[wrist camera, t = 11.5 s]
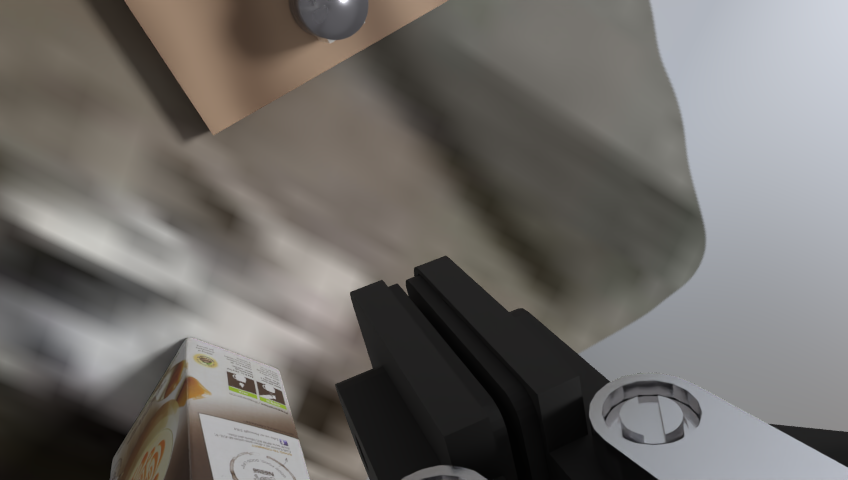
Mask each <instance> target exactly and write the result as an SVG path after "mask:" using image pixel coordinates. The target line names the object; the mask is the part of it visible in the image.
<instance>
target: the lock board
mask: <svg viewBox="0 0 848 480" xmlns="http://www.w3.org/2000/svg"><path fill="white" fill-rule="evenodd" d="M124 1H125V2H126V4H127V5H128V7H129V8H130V10H131V11H132V13H133V14H134V16H135V17H136V19H137V21H138V22H139V24H140V25H141V27H142V28H143V30H144V31H145V33H146V34H147V36H148V37H149V39H150V40H151V42H152V43H153V45H154V46H155V48H156V49H157V51H158V52H159V54H160V55H161V57H162V58H163V60H164V61H165V63H166V64H167V66H168V67H169V69H170V70H171V72H172V73H173V75H174V77H175V78H176V80H177V81H178V83H179V84H180V86H181V87H182V89H183V90H184V92H185V93H186V95H187V96H188V98H189V99H190V101H191V102H192V104H193V105H194V107H195V108H196V110H197V111H198V113H199V114H200V116H201V117H202V119H203V120H204V122H205V123H206V125H207V126H208V128H209V129H210V131H211V133H212V134H213V135H215V134H217V133H218V132H220V131H222V130H223V129H225V128H227V127H229V126H230V125H232V124H234V123H236V122H237V121H239V120H241V119H243V118H244V117H246V116H248V115H250V114H251V113H253V112H255V111H257V110H258V109H260V108H262V107H264V106H265V105H267V104H269V103H271V102H272V101H274V100H276V99H278V98H279V97H281V96H283V95H284V94H286V93H288V92H290V91H291V90H293V89H295V88H297V87H298V86H300V85H302V84H304V83H305V82H307V81H309V80H311V79H312V78H314V77H316V76H318V75H319V74H321V73H323V72H325V71H326V70H328V69H330V68H332V67H333V66H335V65H337V64H339V63H340V62H342V61H344V60H345V59H347V58H349V57H351V56H352V55H354V54H356V53H358V52H359V51H361V50H363V49H365V48H366V47H368V46H370V45H372V44H373V43H375V42H377V41H379V40H380V39H382V38H384V37H386V36H387V35H389V34H391V33H393V32H394V31H396V30H398V29H399V28H401V27H403V26H405V25H406V24H408V23H410V22H412V21H413V20H415V19H417V18H419V17H420V16H422V15H424V14H426V13H427V12H429V11H431V10H433V9H434V8H436V7H438V6H440V5H441V4H443V3H445V2H447V1H448V0H368V13H367V17H366V20H365V23H364V24H363V25H362V27H361V28H360V29H359V30H358V31H357V32H356V33H355V34H353V35H352V36H350V37H348V38H345V39H341V40H335V41H334V42H332V43H330V44H329V43H325V42H321V41H319V39H318V38H317V36H313V35H310V34H308V33H306V32H305V31H303V30H302V29H301V28H300V27H299V26H298V25H297V24H296V22H295V21H294V19H293V17H292V15H291V12H290V8H289V0H124Z"/></svg>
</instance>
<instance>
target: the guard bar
mask: <svg viewBox="0 0 848 480" xmlns="http://www.w3.org/2000/svg"><path fill="white" fill-rule="evenodd" d="M289 8H290V12H291V15H292V17H293V19H294V21H295V22H296V24H297V25H298V26H299V27H300V28H301V29H302V30H303V31H305V32H306V33H308V34H310V35H313V36H317V38H318V39H319V41H321V42H325V43H329V44H330V43H332V42H334V41H335V40H341V39H345V38H348V37H350V36H352V35H353V34H355V33H356V32H357V31H358V30H359V29H360V28H361V27H362V25H363V24H364V23H365V20H366V17H367V13H368V0H289Z"/></svg>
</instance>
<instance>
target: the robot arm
mask: <svg viewBox="0 0 848 480" xmlns="http://www.w3.org/2000/svg"><path fill="white" fill-rule="evenodd" d="M414 276H415V277H413V278H410V279H408V280H406V288H407V292H408V295H409V297H408V295H407V294H406V293H405V292H404V291H403V289H402V288H401V287H400V286H399V285H398V284H395V285H392V286H389V287H388V286H387V285H386V284H385V282H384V281H383V280H381V281H378V282H375V283H373V284H370V285H368V286H365V287H362V288H360V289H357V290H354V291H352V292H350V296H351V300H352V303H353V307H354V310H355V313H356V316H357V319H358V323H359V326H360V329H361V332H362V335H363V338H364V342H365V345H366V348H367V351H368V354H369V357H370V361H371V364H372V367H373V369H371V370H369V371H366V372H364V373H361V374H359V375H356V376H354V377H352V378H349V379H347V380H344V381H342V382H340V383H337V384H335V386H336V390H337V393H338V396H339V399H340V402H341V405H342V407H343V410H344V413H345V416H346V419H347V422H348V424H349V427H350V430H351V433H352V436H353V438H354V441H355V444H356V446H357V449H358V451H359V454H360V457H361V459H362V462H363V464H364V467H365V469H366V472H367V474H368V476H369V479H370V480H848V432H843V431H832V430H823V429H813V428H803V427H794V426H784V425H774V424H767V423H765V422H763V421H762V420H760V419H758V418H756V417H754V416H752V415H750V414H749V413H747V412H745V411H743V410H741V409H739V408H738V407H736V406H734V405H732V404H730V403H729V402H727V401H725V400H723V399H721V398H720V397H717V396H716V395H714V394H712V393H710V392H709V391H707V390H705V389H703V388H701V387H699V386H697V385H696V384H694V383H692V382H689V381H687V380H684V379H682V378H679V377H677V376H672V375H667V374H660V373H638V374H633V375H629V376H624V377H621V378H619V379H616V380H614V381H612V382H610V381H609V380H607V379H606V378H605V377H604V376H603V375H602V374H600V373H599V372H598V371H597V370H595V368H593V367H592V366H591V365H590V364H589V363H587V362H586V361H585V360H584V359H583V358H582V357H581V356H579V355H578V354H577V353H576V352H575V351H574V350H572V349H571V348H570V347H569V346H568V345H567V344H565V343H564V342H563V341H562V340H561V339H559V338H558V337H557V336H556V335H555V334H554V333H552V332H551V331H550V330H549V329H548V328H547V327H545V326H544V325H543V324H542V323H541V322H540V321H538V320H537V319H536V318H535V317H534V316H533V315H531V314H530V313H529V312H528V311H526V310H524V309H523V308H520V309H516V310H514V311H511V312H508V311H507V310H506V309H505V308H504V307H503V306H502V305H500V304H499V303H498V302H497V301H496V300H495V299H494V298H493V297H492V296H491V295H489V294H488V293H487V292H486V291H485V290H484V289H483V288H482V287H481V286H479V285H478V284H477V283H476V282H475V281H474V280H473V279H472V278H471V277H469V276H468V275H467V274H466V273H465V272H464V271H463V270H462V269H461V268H460V267H458V266H457V265H456V264H455V263H454V262H453V261H452V260H451V259H450V258H448V257H447V256H444V257H441V258H439V259H436V260H433V261H431V262H428V263H425V264H423V265H420V266H417V267H415V268H414Z"/></svg>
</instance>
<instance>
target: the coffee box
mask: <svg viewBox="0 0 848 480" xmlns="http://www.w3.org/2000/svg"><path fill="white" fill-rule="evenodd" d="M110 480H310V477H309V474H308V470H307V466H306V463H305V459H304V456H303V452H302V449H301V445H300V442H299V438H298V436H297V432H296V428H295V424H294V420H293V418H292V414H291V410H290V407H289V403H288V400H287V396H286V393H285V389H284V385H283V382H282V378H281V374H280V372H279V370H278V369H276V368H274V367H271V366H269V365H266V364H263V363H261V362H258V361H255V360H252V359H250V358H247V357H244V356H242V355H239V354H236V353H234V352H231V351H228V350H226V349H223V348H220V347H217V346H215V345H212V344H209V343H206V342H203V341H201V340H198V339H195V338H187V339H185V341H184V342H183V344H182V345H181V347H180V349H179V350H178V352H177V354H176V355H175V357H174V359H173V360H172V362H171V363H170V365H169V367H168V368H167V370H166V372H165V373H164V375H163V377H162V378H161V380H160V382H159V383H158V385H157V387H156V388H155V390H154V392H153V393H152V395H151V397H150V398H149V400H148V402H147V403H146V405H145V407H144V408H143V410H142V411H141V413H140V415H139V416H138V418H137V420H136V421H135V423H134V424H133V426H132V428H131V429H130V431H129V433H128V434H127V436H126V438H125V439H124V441H123V443H122V444H121V446H120V447H119V449H118V451H117V452H116V454H115V456H114V458H113V461H112V468H111V476H110Z"/></svg>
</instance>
